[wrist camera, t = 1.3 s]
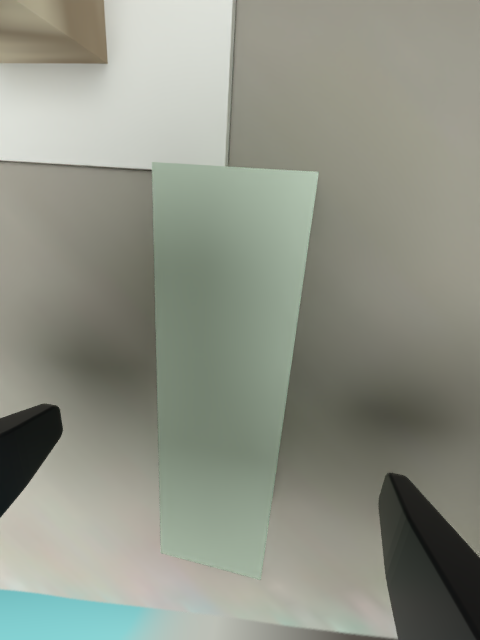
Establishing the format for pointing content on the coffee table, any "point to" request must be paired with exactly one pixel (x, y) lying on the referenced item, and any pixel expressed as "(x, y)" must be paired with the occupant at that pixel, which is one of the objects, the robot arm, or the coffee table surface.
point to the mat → (129, 92)
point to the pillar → (53, 31)
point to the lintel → (224, 350)
